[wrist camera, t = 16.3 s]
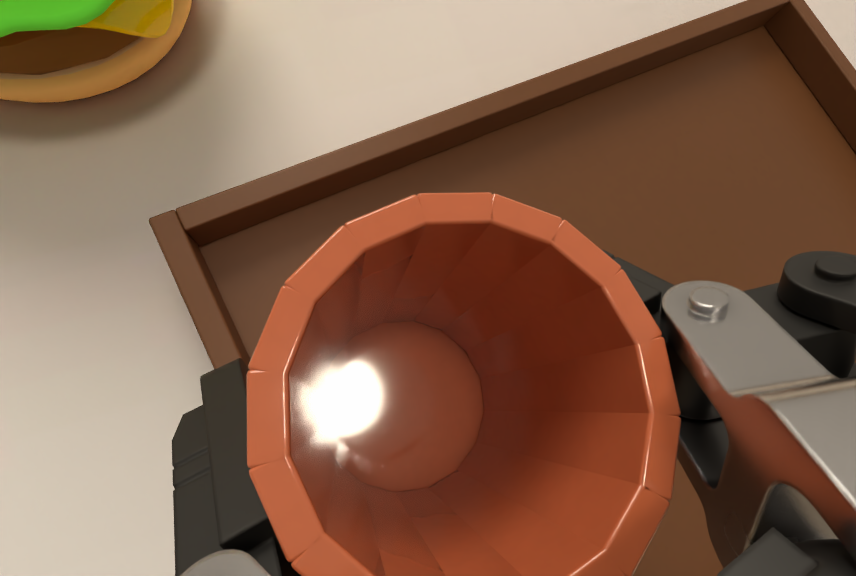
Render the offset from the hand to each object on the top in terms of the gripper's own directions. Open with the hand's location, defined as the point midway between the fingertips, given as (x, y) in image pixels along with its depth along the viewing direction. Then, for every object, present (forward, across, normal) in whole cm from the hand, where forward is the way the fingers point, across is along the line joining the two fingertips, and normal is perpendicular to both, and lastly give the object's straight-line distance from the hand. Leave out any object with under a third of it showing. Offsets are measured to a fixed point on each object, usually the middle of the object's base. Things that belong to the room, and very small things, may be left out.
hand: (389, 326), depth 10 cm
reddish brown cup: (+2, 0, +5) cm, 5 cm away
